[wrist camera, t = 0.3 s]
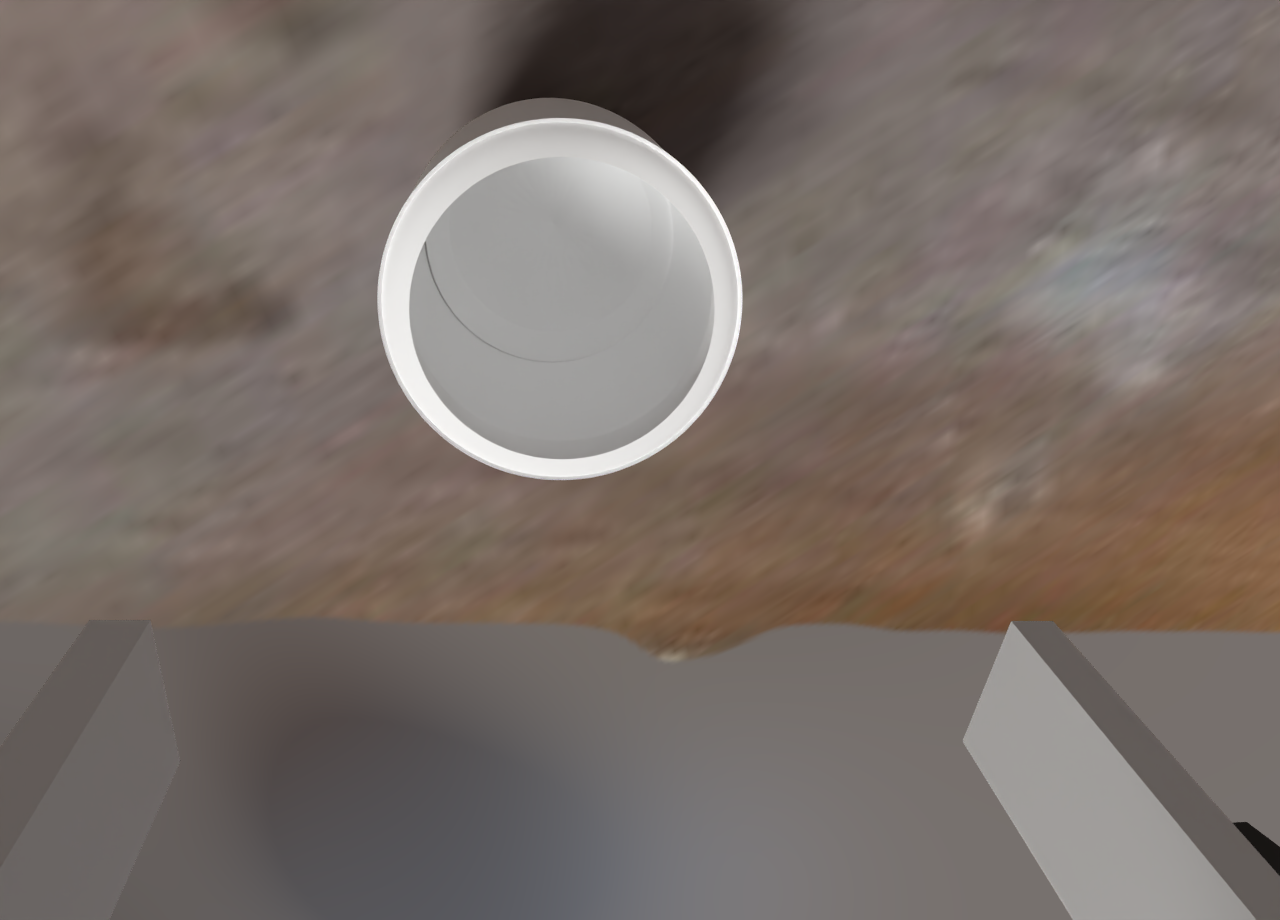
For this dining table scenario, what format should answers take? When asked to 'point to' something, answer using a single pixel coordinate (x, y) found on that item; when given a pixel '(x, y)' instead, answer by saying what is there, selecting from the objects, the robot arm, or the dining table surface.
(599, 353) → the jar
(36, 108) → the dining table surface
